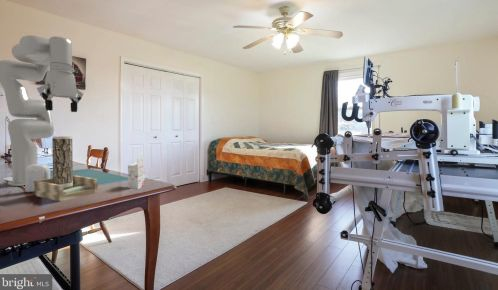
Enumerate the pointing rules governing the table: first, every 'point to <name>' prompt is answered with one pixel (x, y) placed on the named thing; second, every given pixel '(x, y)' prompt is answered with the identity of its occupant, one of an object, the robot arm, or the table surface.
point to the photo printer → (35, 175)
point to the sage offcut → (74, 189)
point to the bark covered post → (62, 161)
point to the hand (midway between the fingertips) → (62, 111)
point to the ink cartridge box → (136, 174)
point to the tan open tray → (56, 191)
